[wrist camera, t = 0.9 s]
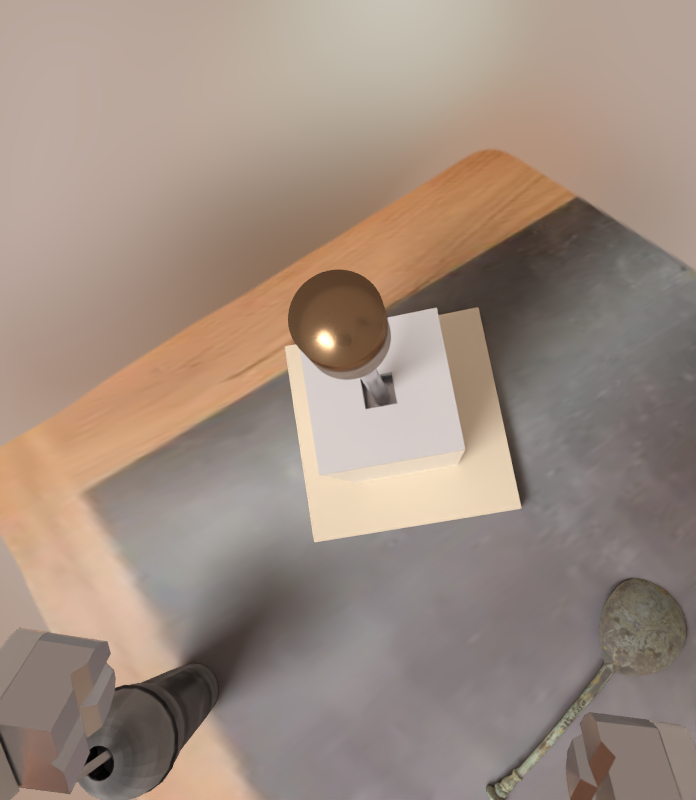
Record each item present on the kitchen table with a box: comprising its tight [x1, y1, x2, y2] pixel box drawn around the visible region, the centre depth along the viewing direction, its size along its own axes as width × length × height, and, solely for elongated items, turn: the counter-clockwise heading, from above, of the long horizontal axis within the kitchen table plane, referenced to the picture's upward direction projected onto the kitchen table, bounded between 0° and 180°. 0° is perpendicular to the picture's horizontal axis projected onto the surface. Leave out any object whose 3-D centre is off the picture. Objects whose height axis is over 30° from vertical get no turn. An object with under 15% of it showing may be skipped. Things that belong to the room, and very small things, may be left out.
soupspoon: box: [486, 578, 686, 800], centre depth 49 cm, size 22×3×7 cm
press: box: [285, 307, 522, 542], centre depth 46 cm, size 18×18×18 cm
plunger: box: [288, 270, 397, 409], centre depth 31 cm, size 7×7×18 cm
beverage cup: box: [76, 663, 218, 800], centre depth 44 cm, size 7×7×20 cm
